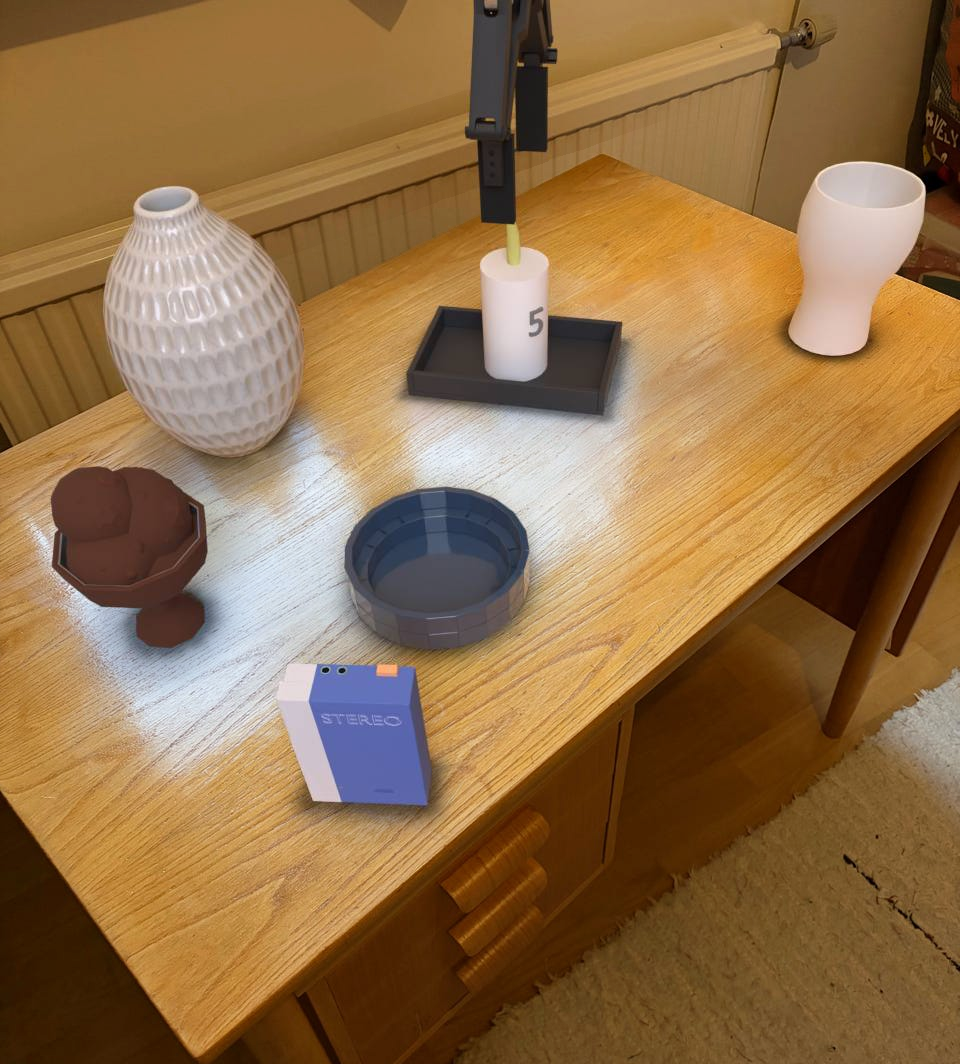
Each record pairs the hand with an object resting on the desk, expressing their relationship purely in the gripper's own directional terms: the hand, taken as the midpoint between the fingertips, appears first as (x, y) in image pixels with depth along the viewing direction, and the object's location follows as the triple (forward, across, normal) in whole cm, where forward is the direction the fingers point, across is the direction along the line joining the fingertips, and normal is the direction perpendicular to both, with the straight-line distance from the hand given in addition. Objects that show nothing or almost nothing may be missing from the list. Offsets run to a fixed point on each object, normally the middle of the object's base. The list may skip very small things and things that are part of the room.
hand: (516, 184), depth 77 cm
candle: (+18, 0, 0) cm, 18 cm away
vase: (+18, +15, -24) cm, 34 cm away
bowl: (+18, +30, 0) cm, 35 cm away
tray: (+18, 0, 0) cm, 18 cm away
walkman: (+19, +49, 0) cm, 52 cm away
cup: (+19, -11, +30) cm, 37 cm away
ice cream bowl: (+18, +38, -20) cm, 47 cm away
